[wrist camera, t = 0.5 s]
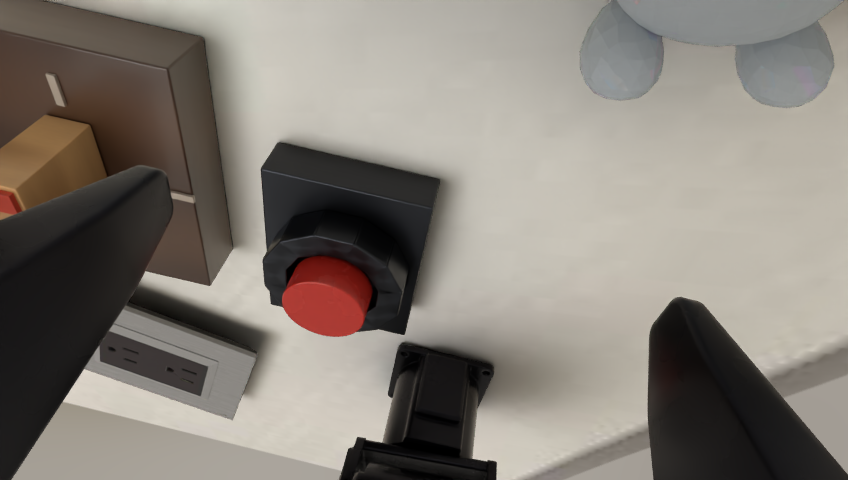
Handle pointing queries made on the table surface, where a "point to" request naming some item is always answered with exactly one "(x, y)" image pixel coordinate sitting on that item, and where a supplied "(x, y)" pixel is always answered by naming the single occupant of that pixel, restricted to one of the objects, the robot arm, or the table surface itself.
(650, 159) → the table surface
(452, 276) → the table surface
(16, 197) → the knob
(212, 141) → the panel
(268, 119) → the table surface
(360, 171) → the button box
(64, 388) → the robot arm
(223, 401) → the electrical outlet
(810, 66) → the toy
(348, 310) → the button
